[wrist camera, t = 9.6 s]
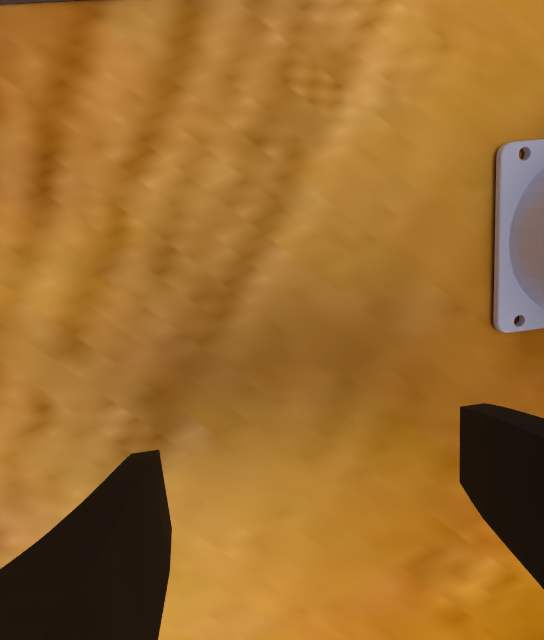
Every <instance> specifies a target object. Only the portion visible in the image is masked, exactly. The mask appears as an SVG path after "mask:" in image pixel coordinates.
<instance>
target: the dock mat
mask: <svg viewBox="0 0 544 640" xmlns="http://www.w3.org/2000/svg"><path fill="white" fill-rule="evenodd" d="M53 1H73V0H0V4H15V3H34V2H53Z"/></svg>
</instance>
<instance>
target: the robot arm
mask: <svg viewBox="0 0 544 640" xmlns="http://www.w3.org/2000/svg"><path fill="white" fill-rule="evenodd" d="M520 149H523V151H524V154H525V155H524V158H523V159H522V160H521V159H520V158H519V151H520ZM518 315H519V321H518V322H517V324H514V319H515V318H516V316H518ZM494 326H495V328H496V329H497V330H499V331H501V332H503V333H511V332H519V331H526V330H534V329H541V328H544V139H538V140H527V141H516V142H510V143H506V144H503V145H502V146H501V147H500V148H499V150H498V152H497V157H496V211H495V267H494ZM460 483H461V485H462V487H463V488H464V490H465V492H466V493H467V495H468V496H469V498H470V500H471V501H472V503H473V504H474V506H475V507H476V509H477V510H478V512H479V513H480V515H481V516H482V518H483V519H484V520H485V521H486V522H487V524H488V525H489V526H490V527H491V528H492V530H493V531H494V532H495V533H496V534H497V536H498V537H499V538H500V539H501V540H502V541H503V543H504V544H505V545H506V546H507V547H508V548H509V550H510V551H511V552H512V553H513V554H514V555H515V557H516V558H517V559H518V560H519V561H520V562H521V563H522V565H523V566H524V567H525V568H526V569H527V570H528V572H529V573H530V574H531V575H532V576H533V577H534V578H535V580H536V581H537V582H538V583H539V584H540V585H541V587H542V588H543V589H544V418H541V417H537V416H534V415H530V414H527V413H524V412H520V411H516V410H513V409H509V408H505V407H501V406H496V405H491V404H485V403H483V404H476V405H469V406H462V407H460ZM171 534H172V527H171V521H170V514H169V508H168V502H167V496H166V490H165V484H164V477H163V471H162V465H161V459H160V453H159V450H154V451H147V452H140V453H133V454H131V455H130V456H129V457H127V458H126V459H125V460H124V461H123V462H122V463H121V464H120V465H119V466H118V467H117V468H116V469H115V470H114V471H113V472H112V473H111V474H110V475H109V476H108V477H107V478H106V479H105V480H104V481H103V482H102V483H101V484H100V485H99V486H98V487H97V488H96V489H95V490H94V491H93V492H92V493H91V494H90V495H89V496H88V497H87V498H86V499H85V500H84V501H83V502H82V503H81V504H80V505H79V506H78V507H76V508H75V509H74V510H73V511H72V512H71V513H70V514H69V515H67V516H66V517H65V518H64V519H63V520H62V521H61V522H60V523H58V524H57V525H56V526H55V527H54V528H53V529H52V530H51V531H50V532H48V533H47V534H46V535H45V536H43V537H42V538H41V539H40V540H39V541H37V542H36V543H35V544H33V545H32V546H31V547H30V548H28V549H27V550H26V551H24V552H23V553H22V554H20V555H19V556H18V557H16V558H15V559H14V560H12V561H11V562H10V563H8V564H7V565H6V566H4V567H3V568H1V569H0V640H158V636H159V630H160V625H161V619H162V613H163V608H164V602H165V596H166V590H167V584H168V578H169V572H170V556H171Z"/></svg>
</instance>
